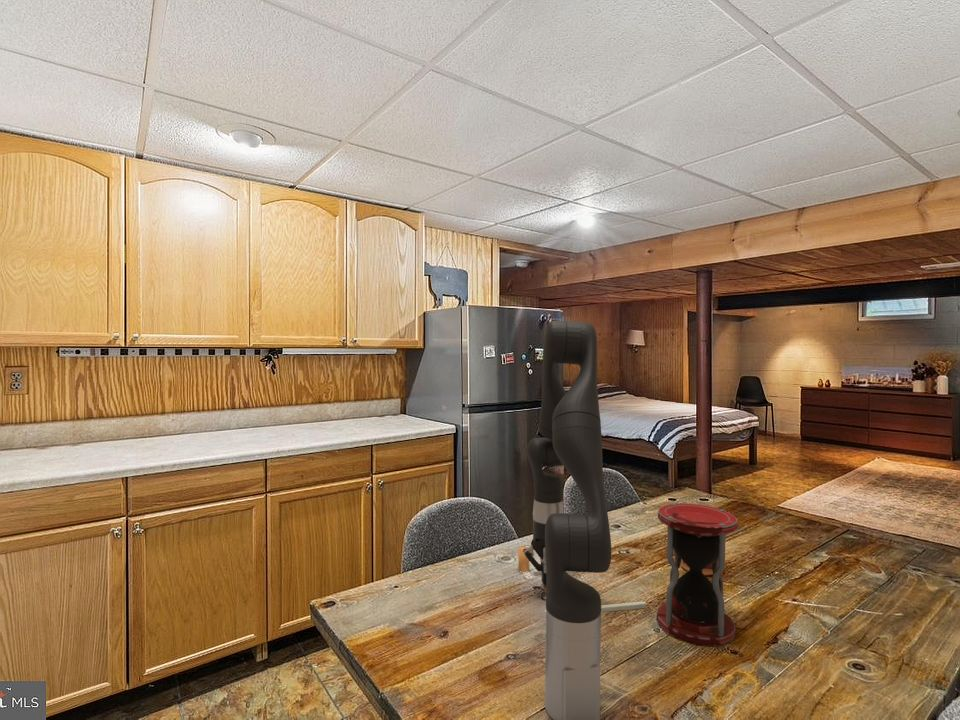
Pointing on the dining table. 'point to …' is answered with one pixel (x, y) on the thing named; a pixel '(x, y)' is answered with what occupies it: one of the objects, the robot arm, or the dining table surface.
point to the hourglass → (696, 574)
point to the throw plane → (524, 567)
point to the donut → (705, 571)
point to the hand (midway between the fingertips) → (547, 585)
